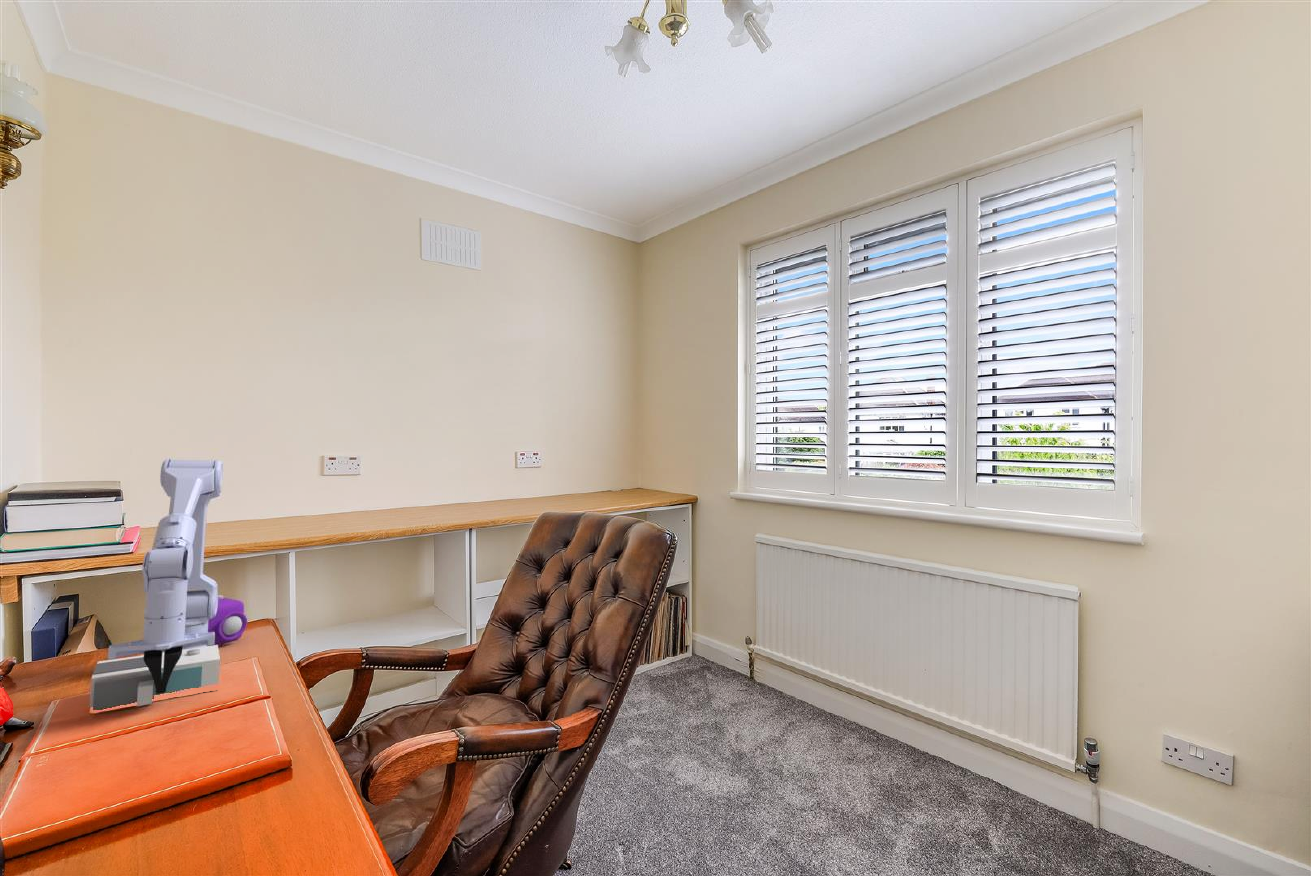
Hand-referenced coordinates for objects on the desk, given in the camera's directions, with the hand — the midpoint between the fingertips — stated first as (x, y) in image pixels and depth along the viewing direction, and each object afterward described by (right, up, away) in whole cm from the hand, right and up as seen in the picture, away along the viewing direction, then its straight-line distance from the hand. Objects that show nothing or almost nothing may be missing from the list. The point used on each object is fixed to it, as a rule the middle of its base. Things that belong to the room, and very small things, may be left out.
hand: (161, 691), depth 105 cm
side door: (-5, -2, -2) cm, 6 cm away
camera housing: (-6, -3, +6) cm, 9 cm away
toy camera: (-16, -4, +35) cm, 39 cm away
